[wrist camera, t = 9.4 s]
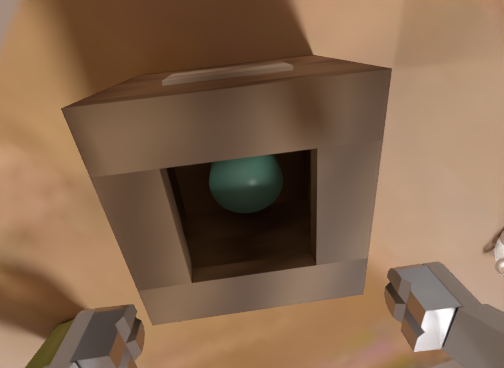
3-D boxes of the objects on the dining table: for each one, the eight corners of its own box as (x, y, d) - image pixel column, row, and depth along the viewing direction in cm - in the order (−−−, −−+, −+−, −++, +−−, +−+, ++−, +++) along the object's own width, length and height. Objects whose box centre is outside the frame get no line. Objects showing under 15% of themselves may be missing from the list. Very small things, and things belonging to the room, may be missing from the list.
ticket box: (313, 51, 19) (392, 62, 10) (313, 202, 25) (363, 294, 16) (137, 72, 19) (58, 102, 10) (178, 221, 24) (152, 325, 15)
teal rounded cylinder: (271, 121, 20) (284, 146, 16) (271, 175, 22) (281, 211, 18) (210, 123, 20) (205, 150, 15) (215, 178, 22) (212, 215, 17)
